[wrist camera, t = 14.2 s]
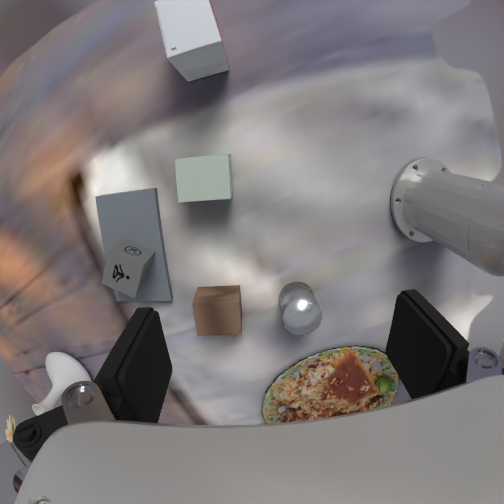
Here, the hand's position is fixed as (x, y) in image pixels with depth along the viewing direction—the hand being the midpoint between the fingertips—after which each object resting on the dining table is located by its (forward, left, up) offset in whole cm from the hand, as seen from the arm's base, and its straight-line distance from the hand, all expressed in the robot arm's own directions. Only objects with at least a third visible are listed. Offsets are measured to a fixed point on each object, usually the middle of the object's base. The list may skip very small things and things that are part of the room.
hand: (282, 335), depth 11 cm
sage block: (+6, -4, -28) cm, 29 cm away
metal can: (-5, +14, -28) cm, 32 cm away
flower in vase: (+40, +30, -28) cm, 58 cm away
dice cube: (+17, +7, -28) cm, 33 cm away
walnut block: (+6, +14, -28) cm, 32 cm away
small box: (+6, -21, -29) cm, 36 cm away
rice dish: (-13, +38, -29) cm, 49 cm away
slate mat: (+18, +5, -28) cm, 34 cm away
